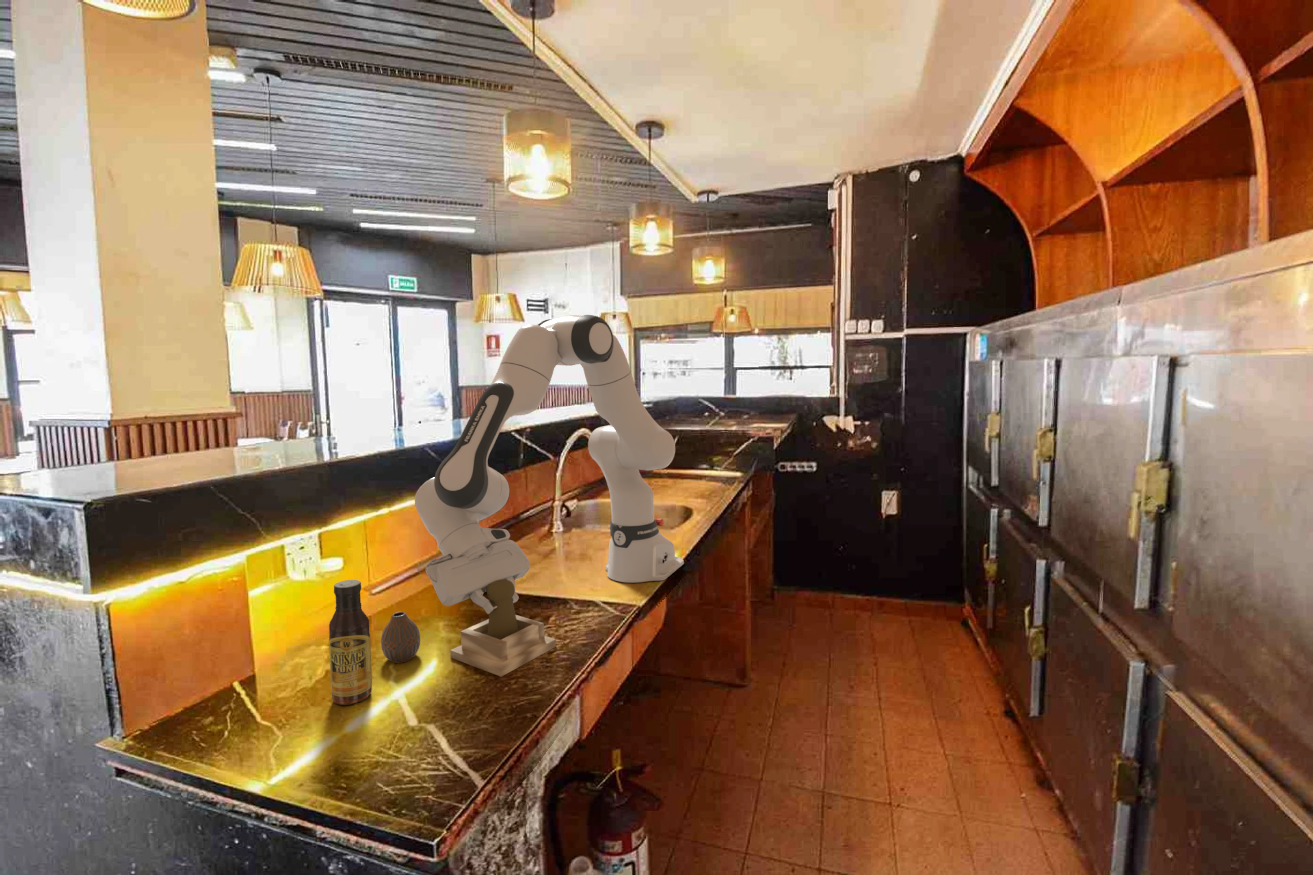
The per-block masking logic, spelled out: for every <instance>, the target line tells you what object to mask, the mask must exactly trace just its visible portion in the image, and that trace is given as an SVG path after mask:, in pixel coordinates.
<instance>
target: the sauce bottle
mask: <svg viewBox="0 0 1313 875" xmlns="http://www.w3.org/2000/svg"><path fill="white" fill-rule="evenodd" d="M361 591H362V581H360V580H358V579H346V580H341V581H338V582H335V584H334V585H333V593H334V595H335V611H334V614H333V615H332V617H331V619H330V621H329V624H328V630H329V631H328V633H329V637H328V638H329V639H328V650H329V652H328V653H329V676H330V677H329V678H330V692H331V697H332V698H331V699H332V701H333V703H334V704H336V705H340V706H351V705H354V704H357V703H361V702H363V701H365V700H367V698H368V697H369V696H370V695H371V693H372V690H373V689H372V688H373V687H372V686H373V674H372V673H373V672H372V671H373V670H372V650H371V649H372V648H371V646H372V645H371V633H370V619H369V617H368V616H367V615H366V613H365V612H364V611H363V610H362V601H361Z"/></svg>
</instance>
